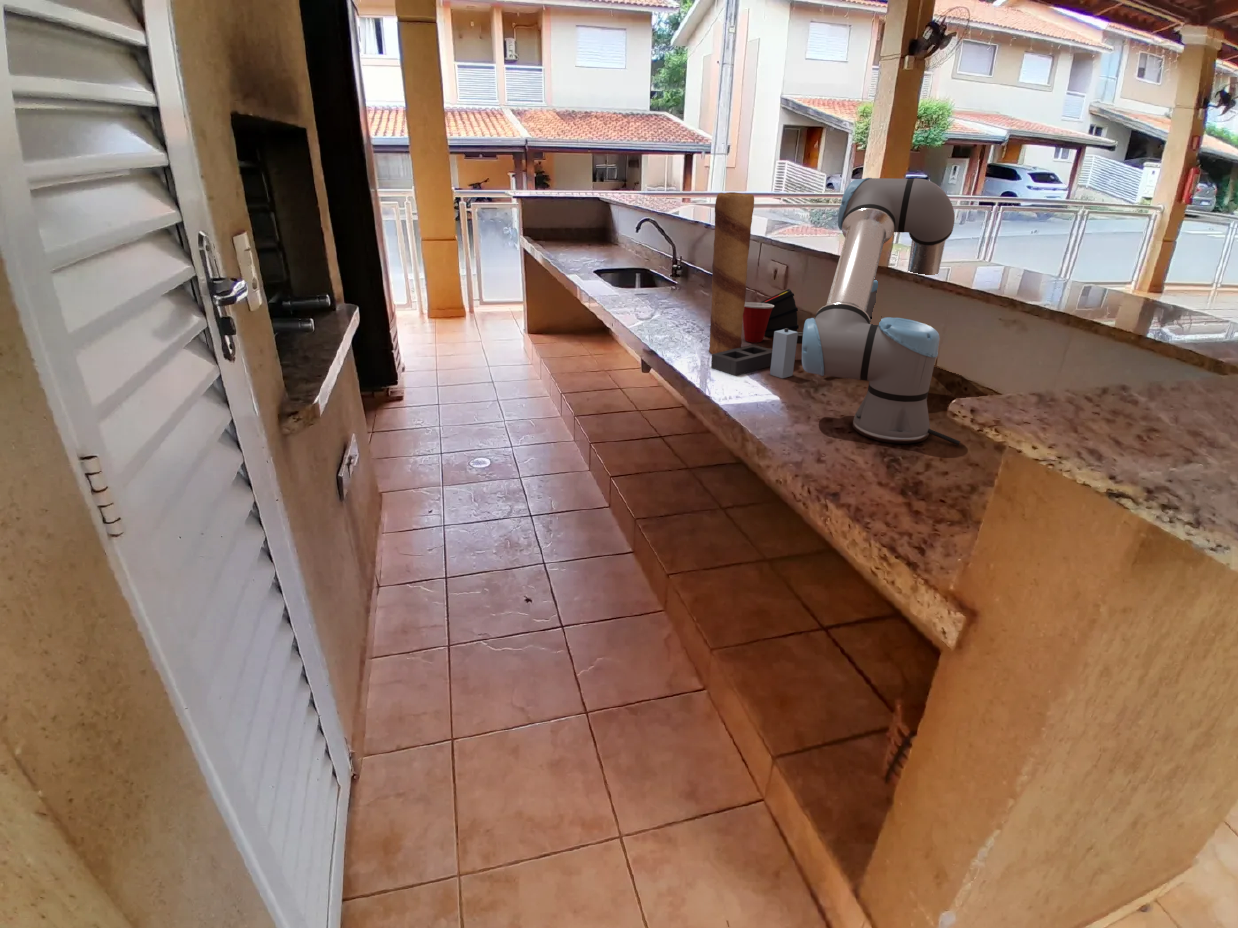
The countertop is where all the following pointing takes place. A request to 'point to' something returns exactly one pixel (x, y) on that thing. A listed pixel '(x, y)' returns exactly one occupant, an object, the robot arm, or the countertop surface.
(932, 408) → the countertop surface
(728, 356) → the cinder block
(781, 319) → the magazine
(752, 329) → the plastic cup
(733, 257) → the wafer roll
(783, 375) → the grey rectangular block
